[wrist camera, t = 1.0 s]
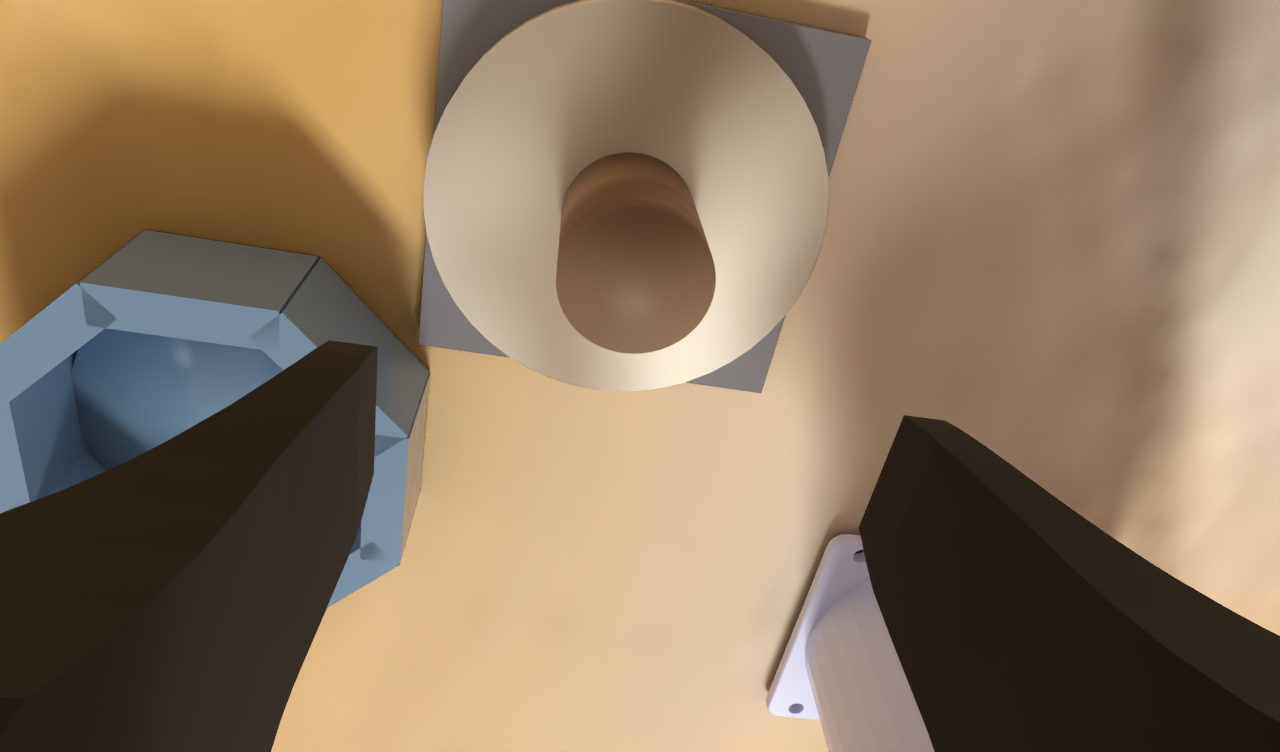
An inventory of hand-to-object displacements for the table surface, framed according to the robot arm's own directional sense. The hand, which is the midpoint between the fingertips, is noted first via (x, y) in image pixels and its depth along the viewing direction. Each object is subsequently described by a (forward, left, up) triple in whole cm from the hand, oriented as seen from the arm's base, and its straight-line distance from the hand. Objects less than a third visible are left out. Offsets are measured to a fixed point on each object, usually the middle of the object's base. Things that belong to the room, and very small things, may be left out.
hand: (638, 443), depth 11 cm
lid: (0, 0, -10) cm, 10 cm away
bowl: (+9, +7, -10) cm, 15 cm away
